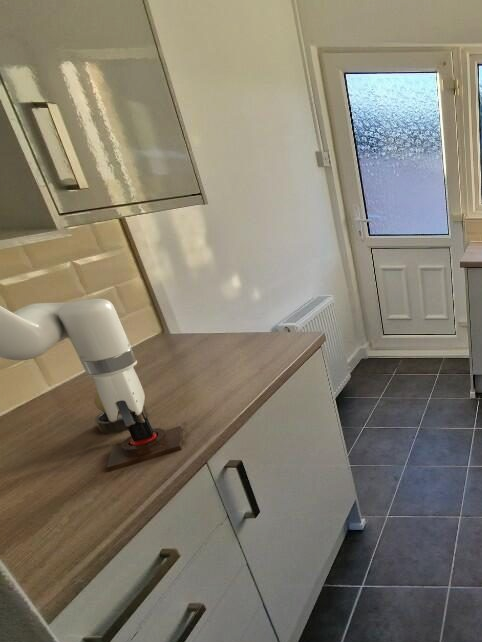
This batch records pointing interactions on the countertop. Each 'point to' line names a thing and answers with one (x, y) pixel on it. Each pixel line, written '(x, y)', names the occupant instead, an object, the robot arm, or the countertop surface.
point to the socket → (112, 423)
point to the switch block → (145, 448)
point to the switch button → (143, 440)
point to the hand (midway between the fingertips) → (144, 437)
